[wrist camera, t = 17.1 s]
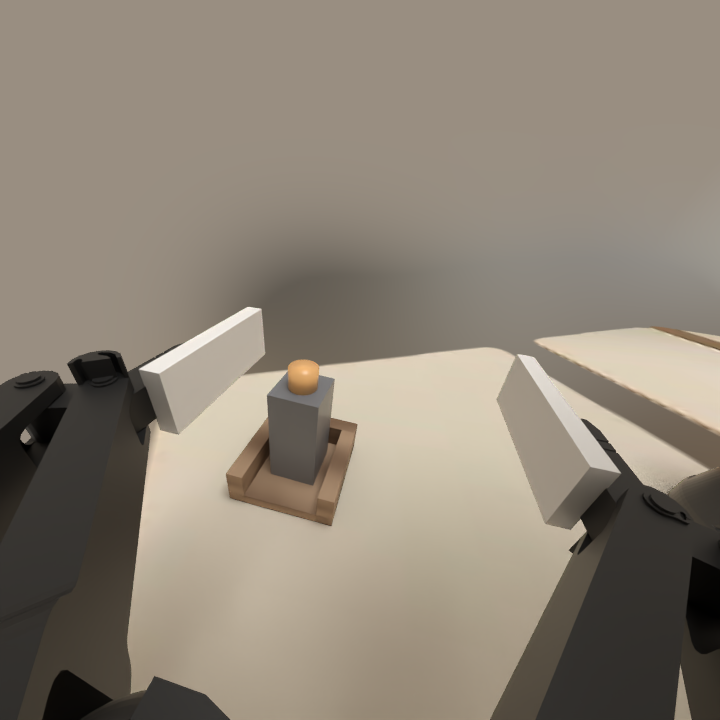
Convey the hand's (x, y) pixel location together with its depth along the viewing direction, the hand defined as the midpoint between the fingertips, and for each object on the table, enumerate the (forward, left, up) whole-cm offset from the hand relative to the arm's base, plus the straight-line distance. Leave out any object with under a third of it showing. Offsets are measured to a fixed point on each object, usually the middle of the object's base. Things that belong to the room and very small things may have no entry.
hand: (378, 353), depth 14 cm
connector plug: (+8, -4, -18) cm, 20 cm away
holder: (+8, -3, -19) cm, 21 cm away
